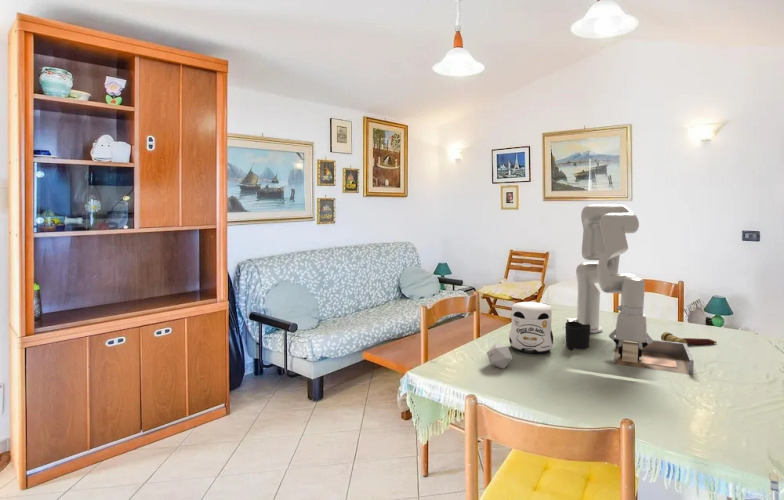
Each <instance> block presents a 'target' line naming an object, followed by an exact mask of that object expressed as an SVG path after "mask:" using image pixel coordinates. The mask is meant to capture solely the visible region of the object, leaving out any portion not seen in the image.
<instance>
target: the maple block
mask: <svg viewBox="0 0 784 500" xmlns="http://www.w3.org/2000/svg"><path fill="white" fill-rule="evenodd" d="M622 361H627V362H635V363H638V342H632V341H623V352H622Z"/></svg>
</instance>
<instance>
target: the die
mask: <svg viewBox="0 0 784 500" xmlns="http://www.w3.org/2000/svg"><path fill="white" fill-rule="evenodd" d="M486 355H487V357H488V360H489V363H490V365H491V366H492V367H496V368H500V369H505V368H506V367H507V366H508V365H509V364H510V363H511V362H512V361H513V357H512V354H511V351H510V349H509V346H508V345H502V344H499V343H495V344H494V345H493V346H492V347H491V348H489V350H488V351H487V352H486Z"/></svg>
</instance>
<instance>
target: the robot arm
mask: <svg viewBox="0 0 784 500" xmlns="http://www.w3.org/2000/svg"><path fill="white" fill-rule="evenodd" d="M580 215H581V216H580V219H581V224H582V230H583V233H582V243H581V257H582V258H583V259H584V260H587V262H582V263H579V264H578V265H577V266H576V269H575V273H576V280H577V281H576V283H577V305H576V306H577V307H576V318H566V322H571V321H575V322H579V323H581V324H584V325H587V324H589V325H590V334H596V333H601V332H602V331H603V327H602V326H601V325H599V324H600V309H601V307H600V305H601V303H600V301H601V292H600V289H601V291H602V292H604V293H606V294H620V296H621V297H620V305H616V308H615V309H616V310H618V313H617V317H616V323H615V329H614V330H613V331H611V333H610V334H609V335H608V337H609V338H610V339H611V340H612V341H613V342H614V344H615V343H616V344H617V345H618V346H619V352H618V354H620V357H622V352H623V346H622V343H623V341H632V342H638V345H639V346H638V360H639V357H641V356H642V349H643V348H644V347H646V346H647V345H648V344H650V343H652V342H653V340H654V339H652V337H651V335H650V334H649V333H648V331H647V328H648V327H647V326H648V325H647V318H646V317H647V316H646V314H644V306H645V305H644V304H645V289H646V287H645V286H646V285H645V284H646V283H645V280H644V279H643V278H641V277H638V276H637V275H635V274H634V273H619V265H620V256H621V255H622V254H624V253H625V252H627V251H628V250H629V245H628V241H627V236H626V234H634V233H635V234H636V232H637V231H638V230H639V227H640V222H639V219H638V216H637V215H636V213H635V212H634V211H632V210H631V209H630V208H629V207H627V206H626V205H624V204H619V203H617V204H616V203H613V204H612V203H611V204H609V203H603V204H602V203H601V204H598V203H597V204H589V205H586V206H584V207H583V208H582V210H581V214H580ZM591 261H593V262H591ZM594 261H595V262H594ZM597 261H598V262H597ZM596 284H599V287H600V289H599V288H598V287H597V286H596ZM618 339H619V340H618ZM646 339H648V340H647V341H646ZM642 342H643V343H642Z"/></svg>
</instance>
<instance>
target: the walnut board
mask: <svg viewBox="0 0 784 500" xmlns="http://www.w3.org/2000/svg"><path fill="white" fill-rule="evenodd" d="M618 352H619V349H617V348H614V365H619V366H620V365H621V366H627V367H635V368H642V369H647V370H648V369H649V370H656V371H662V372H669V373H677V374H683V375H684V374H685V375H692V374H689V373H688V371H687V368H686V365H685V363H684V360H683V357H681V356H673V355H665V354H657V353H649V352H642V356H641V357H639V360H638V363H635V362H627V361H622V357H620V354H618ZM692 376H693V375H692Z"/></svg>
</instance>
